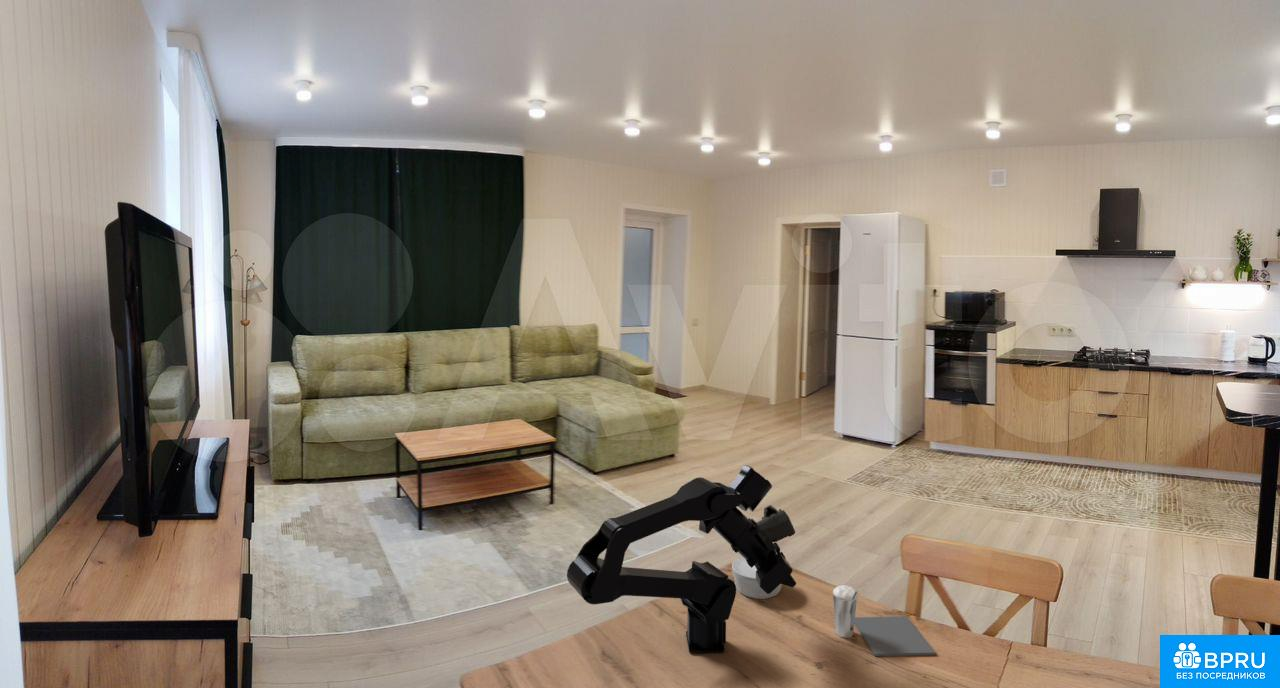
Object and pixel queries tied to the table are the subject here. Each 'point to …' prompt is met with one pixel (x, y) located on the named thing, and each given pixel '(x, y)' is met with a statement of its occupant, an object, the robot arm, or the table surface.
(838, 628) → the milkshake
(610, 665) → the table surface
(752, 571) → the ramekin
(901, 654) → the mat
